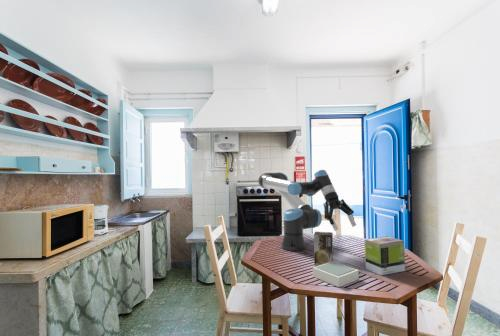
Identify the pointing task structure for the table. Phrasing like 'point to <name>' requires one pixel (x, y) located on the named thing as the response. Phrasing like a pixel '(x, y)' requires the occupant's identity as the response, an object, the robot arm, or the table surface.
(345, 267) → the block
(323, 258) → the coffee box
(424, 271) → the table surface
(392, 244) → the tea box
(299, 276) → the table surface
